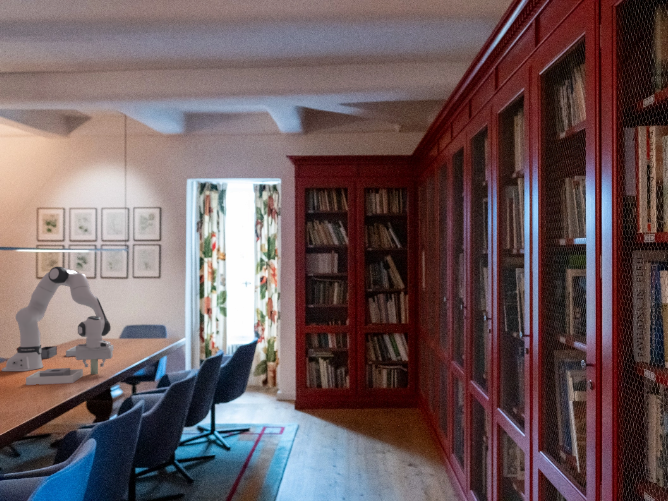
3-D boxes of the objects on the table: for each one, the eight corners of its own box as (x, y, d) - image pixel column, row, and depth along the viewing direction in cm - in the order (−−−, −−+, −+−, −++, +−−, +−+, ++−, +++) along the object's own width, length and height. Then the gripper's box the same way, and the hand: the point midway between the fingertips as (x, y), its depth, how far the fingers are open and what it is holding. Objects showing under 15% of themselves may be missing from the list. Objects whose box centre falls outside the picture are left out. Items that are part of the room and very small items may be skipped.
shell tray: (65, 356, 374) (65, 350, 374) (75, 351, 394) (75, 346, 395) (106, 355, 378) (106, 349, 378) (113, 350, 399) (113, 344, 399)
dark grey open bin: (36, 358, 365) (36, 350, 366) (44, 354, 381) (44, 346, 381) (48, 358, 367) (48, 349, 367) (56, 354, 383) (56, 346, 383)
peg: (89, 374, 313) (89, 359, 313) (91, 373, 317) (91, 358, 317) (96, 374, 314) (96, 359, 314) (98, 372, 317) (98, 357, 318)
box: (25, 385, 288) (25, 374, 288) (38, 377, 305) (38, 368, 306) (72, 382, 292) (72, 372, 292) (82, 375, 309) (82, 366, 310)
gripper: (74, 345, 311) (74, 368, 310) (110, 343, 314) (110, 367, 314) (77, 343, 317) (77, 366, 317) (113, 342, 320) (113, 365, 320)
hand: (94, 366), depth 315 cm, fingers open, 7 cm apart
